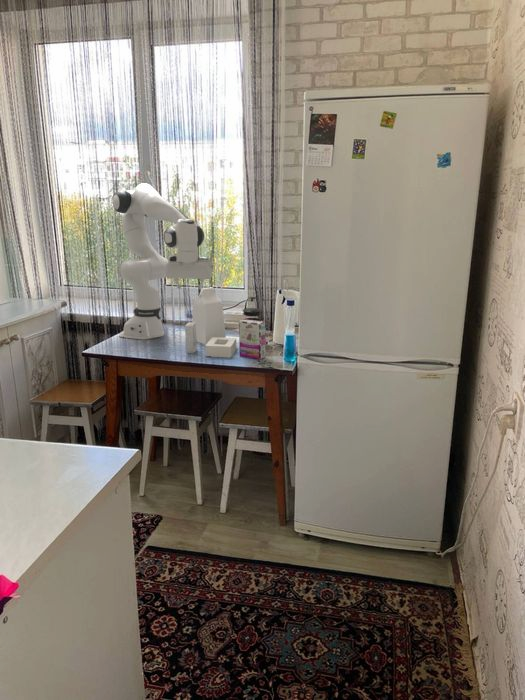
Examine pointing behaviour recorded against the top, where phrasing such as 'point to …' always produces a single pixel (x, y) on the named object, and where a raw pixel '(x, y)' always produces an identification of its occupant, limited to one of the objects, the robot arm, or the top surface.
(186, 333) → the block
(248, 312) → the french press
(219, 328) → the milk
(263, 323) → the candy bar box
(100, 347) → the top surface
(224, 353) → the slotted post base
